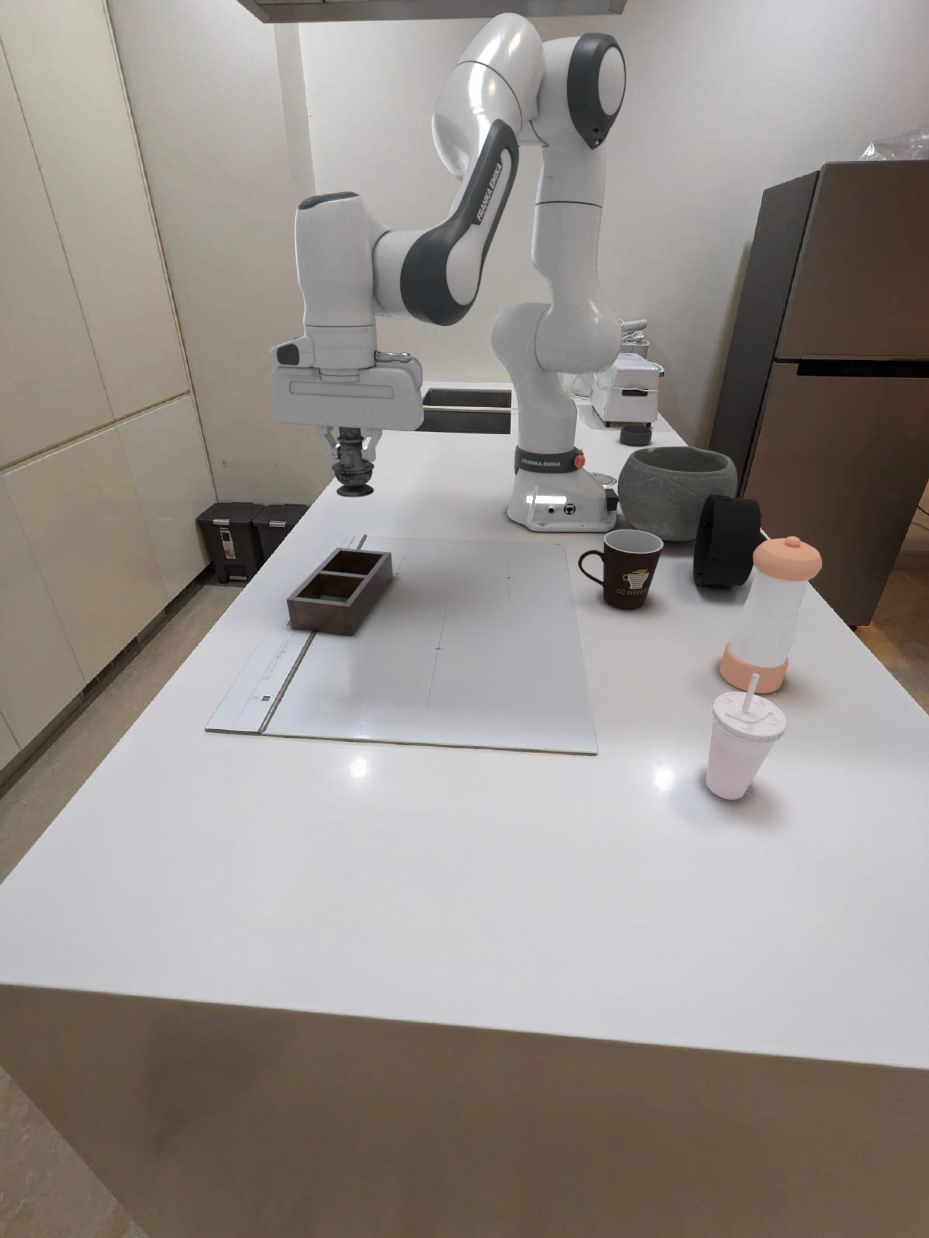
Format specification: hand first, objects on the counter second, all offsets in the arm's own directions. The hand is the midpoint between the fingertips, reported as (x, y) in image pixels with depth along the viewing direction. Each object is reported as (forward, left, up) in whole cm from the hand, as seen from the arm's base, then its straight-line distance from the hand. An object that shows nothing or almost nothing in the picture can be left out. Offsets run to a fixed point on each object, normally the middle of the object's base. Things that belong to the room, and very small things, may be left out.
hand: (352, 459), depth 80 cm
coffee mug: (-38, -8, -22) cm, 45 cm away
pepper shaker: (-55, +9, -22) cm, 60 cm away
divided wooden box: (+3, +2, -22) cm, 22 cm away
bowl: (-48, -36, -22) cm, 64 cm away
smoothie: (-49, +29, -22) cm, 61 cm away
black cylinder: (-56, -17, -22) cm, 63 cm away
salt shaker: (0, 0, -5) cm, 5 cm away
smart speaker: (-44, -104, -22) cm, 115 cm away
